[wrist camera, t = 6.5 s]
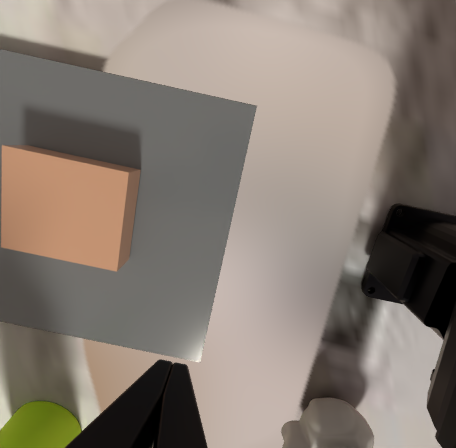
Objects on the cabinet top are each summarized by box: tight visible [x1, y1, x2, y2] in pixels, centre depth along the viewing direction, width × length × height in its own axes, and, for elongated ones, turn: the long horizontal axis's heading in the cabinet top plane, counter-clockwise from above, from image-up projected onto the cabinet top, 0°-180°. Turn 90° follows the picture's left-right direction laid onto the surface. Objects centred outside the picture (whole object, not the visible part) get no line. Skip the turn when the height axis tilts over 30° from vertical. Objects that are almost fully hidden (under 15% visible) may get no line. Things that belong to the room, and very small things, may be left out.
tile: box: [1, 145, 141, 272], centre depth 18 cm, size 2×6×7 cm
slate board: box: [0, 49, 256, 362], centre depth 20 cm, size 16×18×1 cm
